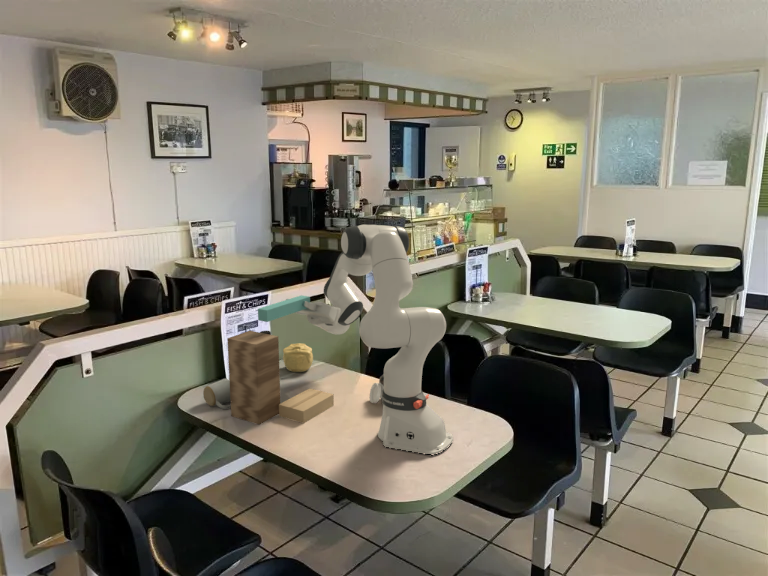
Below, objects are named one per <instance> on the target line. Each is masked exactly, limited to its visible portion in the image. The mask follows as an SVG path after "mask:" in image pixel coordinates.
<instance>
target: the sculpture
mask: <svg viewBox="0 0 768 576" xmlns="http://www.w3.org/2000/svg"><path fill="white" fill-rule="evenodd" d="M282 352H283V356H282V360H283V364H284V367H285V368H286V369H287V370H288V371H290V372H292V373H302V372H306V371H308V370H309V369H310V368H311V367H312V364H313V362H314V354H313V348H312V347H311V346H308V345H306V343H300V342H299V343H298V342H297V343H290V345H288V346H286V347H285V348H283V349H282Z"/></svg>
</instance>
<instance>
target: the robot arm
mask: <svg viewBox="0 0 768 576" xmlns="http://www.w3.org/2000/svg"><path fill="white" fill-rule="evenodd" d="M409 237H410V236H409V233H408V231H407V230H406V229H405V228H404V227H403V226H399V225H392V226H391V225H381V224H378V225H377V224H361V225H352V226H348V227H346V228H345V229H344V230H343V231H342V235H341V239H340V245H341V250H342V252H341V253H340V254H339V255H338V257H337V259H336V261H335V263H334V266H333V269H332V271H331V273H330V276H329V278H328V279H327V280H326V283H325V284H324V287H323V294H324V296H325V297H326V298H327V300H328V301H330V303H331V305H330V304H328V303H326V302H323V301H321V300H319V301H315V302H310V303H309V302H307V301H303V303H302V306H304V307H307V309H304V310H301V311H298V312H295V313H294V314H297V315H301V316H306V319H307V321H308V323H310V324H312V326H315V327H317V328H319V329H322V330H324V331H325V332H327V333H329V334H332V335H343V334H345V333H346V332H347V331H348V330H349V329H350V326H351V324H353V323H354V322H355V321H358V319H359V318H360V316H361V315H362V313H363V310H364V303H363V302H362V301H361V299H360V298H359V296H358V294H357V293H356V292H355V290H354V289H353V288H352V286H351V284H350V283H349V281H348V280H349V279H348V276H349V275H351V276H356V277H361V276H365V275H368V274H369V273H371V272H372V273H373V280H374V286H375V287H374V288H375V296H374V297H375V298H374V301H373V304H372V306H371V307H370V308H369V310H368V311H367V313H365V314H364V316H363V317H362V318H361V320H360V322H359V328H358V329H359V336H360V339H361V340H362V342H363V344H365V346H367V347H369V348H373V349H374V348H375V349H393V348H400V349H399V350H398V352H397V353H396V354H395V355H393V356H392V357H391V358H389V359H388V360H387V361H386V362H385V364H384V368H383V374H384V389H383V390H382V400H381V404H382V412H381V421H380V423H379V424H380V425H379V429H378V432H377V438H379V440H380V441H381V442H382V441H383V442H382V446H383V445H384V446H385V447H384V446H383V447H384V448H386V447H389V448H388V449H391V448H395V449H394V450H397V449H401V450H400V451H402V450H406V451H405V452H408V451H412V452H411V453H414V452H419V453H425V454H436V453H439V452H441V451H443V450H445V449H446V448H447V447H448V446H449V445H450V444H451V443H452V441H453V442H454V436H453V434H452V433H451V432H449V431H446V430H447V429H446V423H445V421H444V419H443V417H441V415H439V413H437V412H436V411H435V410H434V409H433V408H432V407H431V406H429V404H427V400H428V399H429V398H430V397H429V395H430V394H429V393H428V394H426V395H424V392H423V390H422V381H423V379H422V378H423V377H422V376H423V368H424V365H425V361H426V358H427V356H428V354H429V353H430V351H431V350H432V348H433V347H434V346H435V345H437V343H438V342H439V341H441V340H442V339H443V337H444V335H445V334H446V330H447V321H446V318H445V316H444V314H443V313H442V311H441V310H439V309H438V308H435V307H429V306H428V307H427V306H416V307H415V306H414V307H403V308H402V307H400V301H402V299H404V298H405V297H407V296H408V295H409V294H410V293H411V292H412V290H413V287H414V281H413V277H412V271H411V267H410V264H409V263H410V262H409V259H408V256H407V252H408V251H409V248H410V238H409ZM288 299H289V298H286V299H285V300H288ZM452 444H453V443H452ZM452 444H451V445H452ZM446 450H447V449H446ZM446 450H445V451H446ZM419 453H418V454H419ZM425 454H424V455H425Z"/></svg>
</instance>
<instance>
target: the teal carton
mask: <svg viewBox="0 0 768 576" xmlns="http://www.w3.org/2000/svg"><path fill="white" fill-rule="evenodd" d="M287 299H288V300H286V299H285V300H282V301H278V302H276V303H272V304H270V305H266V306H263V307H260V308H257V320H258V321H260V322H265V323H269V322H271V321H274V320H277V319H280V318H282V317H286V316H290V315H292V314H296V313H295V312H298V311H301V310H304V309H307V307H304V306H302V303H303V301H307V302H309V303H311V297H310V296H307V295H302V294H301V295H299V296H295V297H292V298H287Z"/></svg>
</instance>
